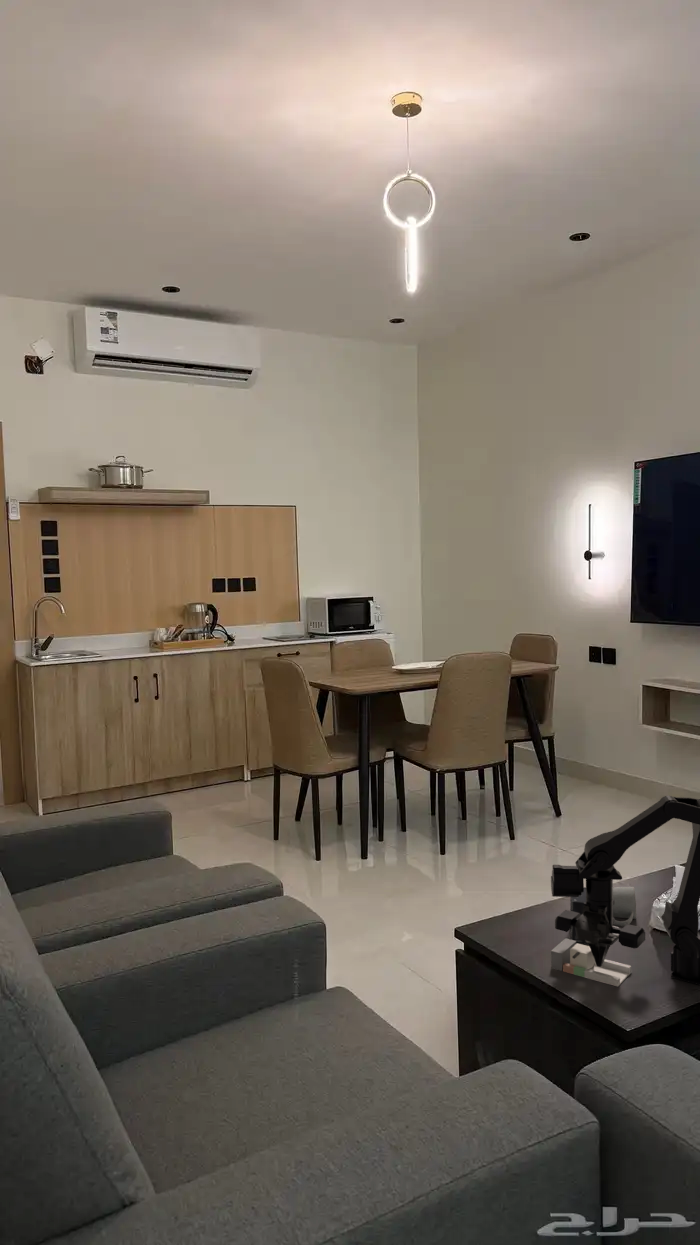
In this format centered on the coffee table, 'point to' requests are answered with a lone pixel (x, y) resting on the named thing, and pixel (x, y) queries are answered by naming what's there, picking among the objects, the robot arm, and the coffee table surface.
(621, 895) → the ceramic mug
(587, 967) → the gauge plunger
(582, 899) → the small box
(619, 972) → the base
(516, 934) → the coffee table surface
